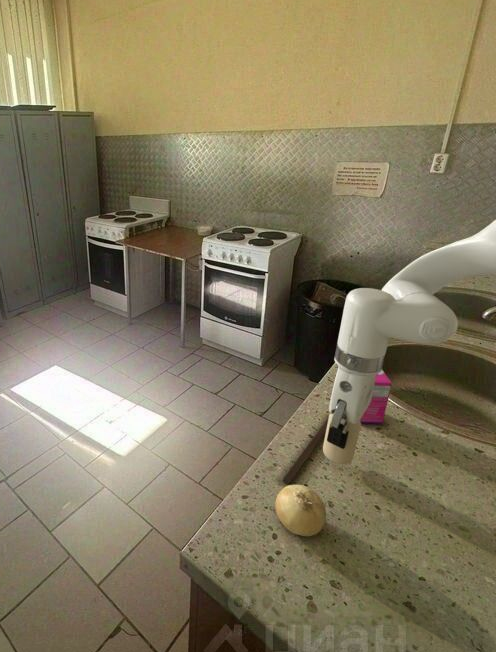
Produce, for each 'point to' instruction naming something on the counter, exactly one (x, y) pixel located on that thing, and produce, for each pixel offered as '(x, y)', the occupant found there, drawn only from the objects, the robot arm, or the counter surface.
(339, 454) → the candle
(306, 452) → the dark brown thin rod
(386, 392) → the supplement box
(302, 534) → the onion
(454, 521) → the counter surface
